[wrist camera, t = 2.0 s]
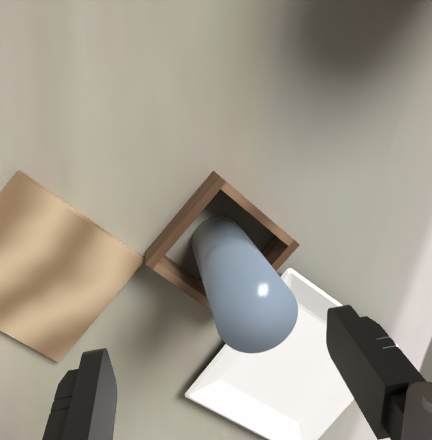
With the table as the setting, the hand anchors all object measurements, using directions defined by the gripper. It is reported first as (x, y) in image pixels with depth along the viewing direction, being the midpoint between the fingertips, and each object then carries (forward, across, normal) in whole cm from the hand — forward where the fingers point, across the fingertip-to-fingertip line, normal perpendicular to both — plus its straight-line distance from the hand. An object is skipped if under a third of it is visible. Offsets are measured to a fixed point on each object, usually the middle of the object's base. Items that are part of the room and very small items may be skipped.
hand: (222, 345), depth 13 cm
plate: (+22, +10, -25) cm, 35 cm away
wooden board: (+23, -15, -9) cm, 29 cm away
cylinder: (+24, +3, -9) cm, 26 cm away
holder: (+24, +3, -9) cm, 26 cm away
